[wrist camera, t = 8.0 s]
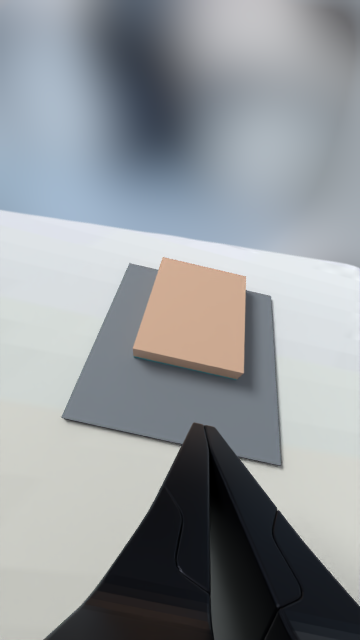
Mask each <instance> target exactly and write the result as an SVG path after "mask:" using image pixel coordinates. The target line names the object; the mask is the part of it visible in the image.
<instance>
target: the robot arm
mask: <svg viewBox="0 0 360 640" xmlns="http://www.w3.org/2000/svg"><path fill="white" fill-rule="evenodd" d="M44 640H360V606H359V605H358V604H357V603H356V602H355V601H354V599H353V598H352V597H351V596H350V595H349V594H348V593H347V591H346V590H345V589H344V588H343V587H342V586H341V585H340V583H339V582H338V581H337V580H336V579H335V578H334V577H333V575H332V574H331V573H330V572H329V571H328V570H327V569H326V567H325V566H324V565H323V564H322V563H321V562H320V560H319V559H318V558H317V557H316V556H315V554H314V553H313V552H312V551H311V550H310V549H309V547H308V546H307V545H306V544H305V543H304V541H303V540H302V539H301V538H300V536H299V535H298V534H297V533H296V531H295V530H294V529H293V528H292V526H291V525H290V524H289V523H288V521H287V520H286V519H285V517H284V516H283V515H282V514H281V512H280V511H279V510H277V507H276V506H275V505H274V503H273V502H272V501H271V499H270V498H269V497H268V495H267V494H266V493H265V492H264V490H263V489H262V488H261V486H260V485H259V484H258V482H257V481H256V480H255V479H254V477H253V476H252V475H251V473H250V472H249V471H248V469H247V468H246V467H245V465H244V464H243V463H242V462H241V460H240V459H239V458H238V456H237V455H236V454H235V452H234V451H233V450H232V449H231V447H230V446H229V445H228V443H227V442H226V441H225V439H224V438H223V437H222V436H221V434H220V433H219V432H218V430H217V429H216V428H215V427H213V426H209V425H203V424H199V423H195V422H194V423H193V424H192V426H191V428H190V430H189V432H188V434H187V436H186V438H185V440H184V442H183V444H182V446H181V448H180V450H179V452H178V454H177V456H176V458H175V460H174V462H173V464H172V466H171V468H170V470H169V472H168V474H167V476H166V478H165V480H164V482H163V484H162V486H161V488H160V490H159V492H158V494H157V496H156V498H155V500H154V502H153V504H152V505H151V507H150V509H149V511H148V513H147V514H146V516H145V517H144V519H143V520H142V522H141V523H140V525H139V527H138V528H137V530H136V531H135V533H134V534H133V535H132V537H131V538H130V540H129V541H128V543H127V544H126V546H125V547H124V548H123V550H122V551H121V553H120V554H119V556H118V557H117V559H116V560H115V562H114V563H113V564H112V566H111V567H110V569H109V570H108V572H107V573H106V575H105V576H104V577H103V579H102V580H101V581H100V583H99V584H98V585H97V587H96V588H95V589H94V591H93V592H92V593H91V594H90V596H89V597H88V598H87V599H86V600H85V601H84V603H83V604H82V605H81V606H80V607H79V608H78V609H77V610H76V611H74V612H73V613H72V614H71V615H70V616H69V617H68V618H67V619H66V620H65V621H63V622H62V623H61V624H60V625H59V626H58V627H57V628H56V629H55V630H54V631H52V632H51V633H50V634H49V635H48V636H47V637H46V638H45V639H44Z"/></svg>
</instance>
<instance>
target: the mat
mask: <svg viewBox="0 0 360 640" xmlns="http://www.w3.org/2000/svg"><path fill="white" fill-rule="evenodd" d="M157 273H158V270H156V269H152V268H148V267H144V266H139V265H135V264H131V263H129V266H128V268H127V270H126V272H125V275H124V277H123V279H122V281H121V284H120V286H119V288H118V291H117V293H116V295H115V297H114V300H113V302H112V304H111V306H110V309H109V311H108V313H107V315H106V318H105V320H104V322H103V324H102V327H101V329H100V331H99V333H98V336H97V338H96V340H95V342H94V345H93V347H92V349H91V352H90V354H89V356H88V358H87V361H86V363H85V365H84V367H83V370H82V372H81V374H80V376H79V379H78V381H77V383H76V385H75V388H74V390H73V392H72V394H71V397H70V399H69V401H68V403H67V406H66V408H65V410H64V413H63V415H62V418H64V419H69V420H73V421H78V422H83V423H87V424H92V425H96V426H101V427H105V428H110V429H115V430H119V431H124V432H128V433H133V434H138V435H142V436H147V437H151V438H156V439H160V440H165V441H170V442H174V443H179V444H183V442H184V440H185V438H186V436H187V434H188V432H189V430H190V428H191V426H192V424H193V423H194V422H195V423H199V424H203V425H209V426H213V427H215V428H216V429H217V430H218V432H219V433H220V434H221V436H222V437H223V438H224V439H225V441H226V442H227V443H228V445H229V446H230V447H231V449H232V450H233V451H234V452H235V454H236V455H237V456H238V457H243V458H247V459H252V460H257V461H261V462H266V463H270V464H275V465H281V458H280V441H279V424H278V408H277V391H276V374H275V357H274V341H273V324H272V307H271V296H268V295H264V294H260V293H256V292H251V291H247V290H246V295H245V341H244V374H242V375H241V376H240V377H239V378H238V379H237V380H233V379H228V378H224V377H219V376H215V375H210V374H206V373H201V372H197V371H192V370H188V369H184V368H179V367H175V366H170V365H166V364H161V363H157V362H152V361H148V360H144V359H139V358H135V357H133V346H134V343H135V340H136V337H137V334H138V331H139V328H140V325H141V322H142V319H143V316H144V313H145V310H146V307H147V303H148V300H149V297H150V294H151V291H152V288H153V285H154V282H155V279H156V276H157Z"/></svg>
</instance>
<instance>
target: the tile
mask: <svg viewBox="0 0 360 640" xmlns="http://www.w3.org/2000/svg"><path fill="white" fill-rule="evenodd" d="M245 295H246V276H242V275H237V274H233V273H229V272H225V271H220V270H216V269H212V268H207V267H203V266H199V265H195V264H190V263H186V262H182V261H177V260H173V259H169V258H165V257H163V258H162V261H161V264H160V267H159V270H158V273H157V276H156V279H155V282H154V285H153V288H152V291H151V294H150V297H149V300H148V303H147V307H146V310H145V313H144V316H143V319H142V322H141V325H140V328H139V331H138V334H137V337H136V340H135V343H134V346H133V357H135V358H139V359H144V360H148V361H152V362H157V363H161V364H166V365H170V366H175V367H179V368H184V369H188V370H192V371H197V372H201V373H206V374H210V375H215V376H219V377H224V378H228V379H233V380H237V379H238V378H239V377H240V376H241V375H242V374H244V341H245Z"/></svg>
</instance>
